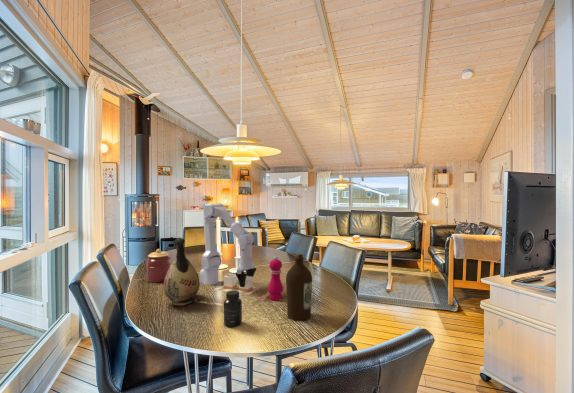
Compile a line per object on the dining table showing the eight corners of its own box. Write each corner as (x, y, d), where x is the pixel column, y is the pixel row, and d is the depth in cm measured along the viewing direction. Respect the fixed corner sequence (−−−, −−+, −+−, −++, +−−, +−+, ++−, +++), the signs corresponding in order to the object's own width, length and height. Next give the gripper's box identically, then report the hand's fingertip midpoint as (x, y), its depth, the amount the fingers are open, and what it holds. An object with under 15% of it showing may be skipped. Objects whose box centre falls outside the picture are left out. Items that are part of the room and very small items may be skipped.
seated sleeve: (223, 288, 149) (223, 276, 149) (229, 285, 154) (229, 273, 154) (232, 289, 147) (232, 277, 147) (237, 286, 152) (237, 274, 152)
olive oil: (281, 318, 117) (281, 255, 117) (293, 309, 126) (293, 250, 126) (305, 324, 112) (305, 258, 112) (316, 314, 121) (316, 253, 121)
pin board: (213, 292, 147) (213, 280, 147) (227, 285, 159) (227, 274, 158) (249, 297, 140) (249, 285, 140) (260, 290, 151) (260, 278, 151)
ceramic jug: (163, 299, 138) (163, 235, 138) (197, 294, 144) (197, 233, 144) (163, 312, 123) (163, 240, 122) (202, 306, 129) (202, 238, 128)
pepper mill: (271, 302, 134) (271, 258, 134) (265, 297, 141) (265, 255, 141) (285, 299, 138) (286, 256, 138) (279, 294, 144) (279, 254, 144)
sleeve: (239, 290, 146) (239, 278, 146) (244, 287, 151) (244, 275, 151) (248, 291, 144) (248, 279, 144) (253, 288, 149) (253, 276, 149)
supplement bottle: (224, 320, 115) (224, 289, 115) (242, 319, 116) (242, 289, 116) (222, 328, 108) (222, 295, 108) (241, 327, 109) (241, 295, 109)
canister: (159, 283, 162) (159, 251, 161) (140, 281, 166) (140, 250, 166) (175, 277, 174) (175, 247, 174) (157, 275, 178) (157, 246, 178)
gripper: (246, 261, 139) (245, 290, 139) (260, 255, 153) (259, 281, 153) (233, 260, 142) (233, 288, 142) (248, 254, 155) (247, 280, 155)
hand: (246, 284), depth 147 cm, fingers open, 7 cm apart
